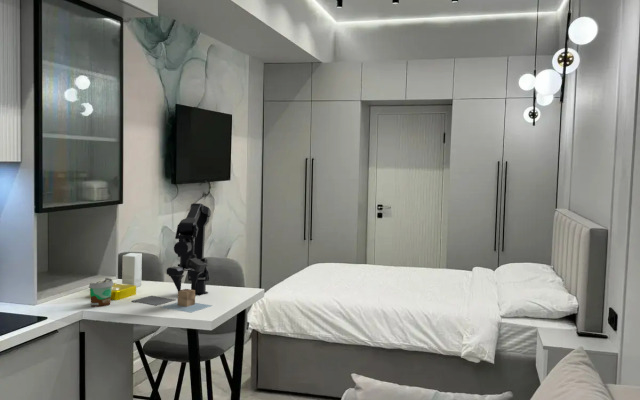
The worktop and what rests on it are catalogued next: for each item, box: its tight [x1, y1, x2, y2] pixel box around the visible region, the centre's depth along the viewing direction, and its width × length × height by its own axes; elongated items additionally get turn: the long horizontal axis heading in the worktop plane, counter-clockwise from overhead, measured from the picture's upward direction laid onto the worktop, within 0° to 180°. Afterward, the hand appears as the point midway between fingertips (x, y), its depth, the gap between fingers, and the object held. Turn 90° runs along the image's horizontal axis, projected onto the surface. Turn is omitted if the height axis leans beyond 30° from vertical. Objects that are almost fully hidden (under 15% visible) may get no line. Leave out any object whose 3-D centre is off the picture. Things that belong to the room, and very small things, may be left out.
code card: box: [161, 301, 213, 313], centre depth 243 cm, size 14×16×1 cm
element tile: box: [89, 282, 137, 301], centre depth 259 cm, size 15×15×5 cm
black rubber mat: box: [131, 295, 176, 307], centre depth 251 cm, size 12×14×1 cm
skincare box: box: [121, 252, 143, 288], centre depth 278 cm, size 8×7×16 cm
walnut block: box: [177, 288, 196, 307], centre depth 245 cm, size 5×5×6 cm
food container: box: [88, 277, 114, 308], centre depth 242 cm, size 12×6×10 cm, turn 168°
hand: (186, 289), depth 245 cm, fingers open, 9 cm apart
